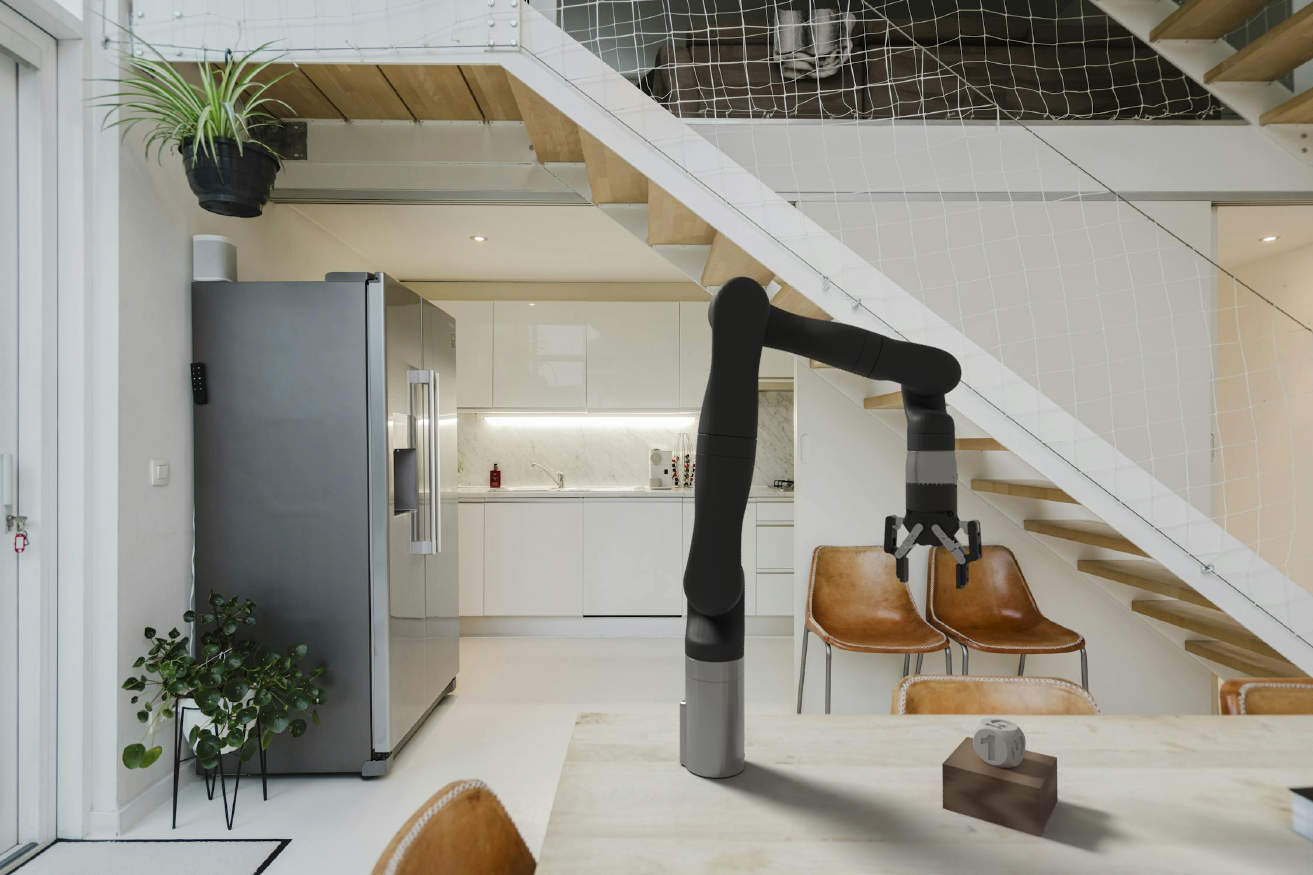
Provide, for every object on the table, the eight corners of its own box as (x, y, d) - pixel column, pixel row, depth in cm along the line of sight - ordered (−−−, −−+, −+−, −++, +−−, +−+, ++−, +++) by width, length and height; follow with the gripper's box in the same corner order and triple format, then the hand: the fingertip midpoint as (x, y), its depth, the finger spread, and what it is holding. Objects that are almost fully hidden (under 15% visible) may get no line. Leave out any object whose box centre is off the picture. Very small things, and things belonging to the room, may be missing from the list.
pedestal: (942, 807, 100) (942, 763, 100) (967, 776, 109) (966, 736, 109) (1040, 836, 92) (1039, 788, 92) (1057, 800, 102) (1057, 757, 102)
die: (972, 759, 101) (972, 722, 101) (990, 749, 104) (990, 714, 104) (1008, 771, 97) (1008, 733, 97) (1026, 761, 100) (1025, 725, 100)
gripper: (877, 479, 114) (877, 583, 114) (972, 482, 106) (973, 594, 105) (894, 478, 120) (894, 576, 120) (986, 480, 111) (987, 586, 111)
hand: (931, 585), depth 113 cm, fingers open, 8 cm apart
